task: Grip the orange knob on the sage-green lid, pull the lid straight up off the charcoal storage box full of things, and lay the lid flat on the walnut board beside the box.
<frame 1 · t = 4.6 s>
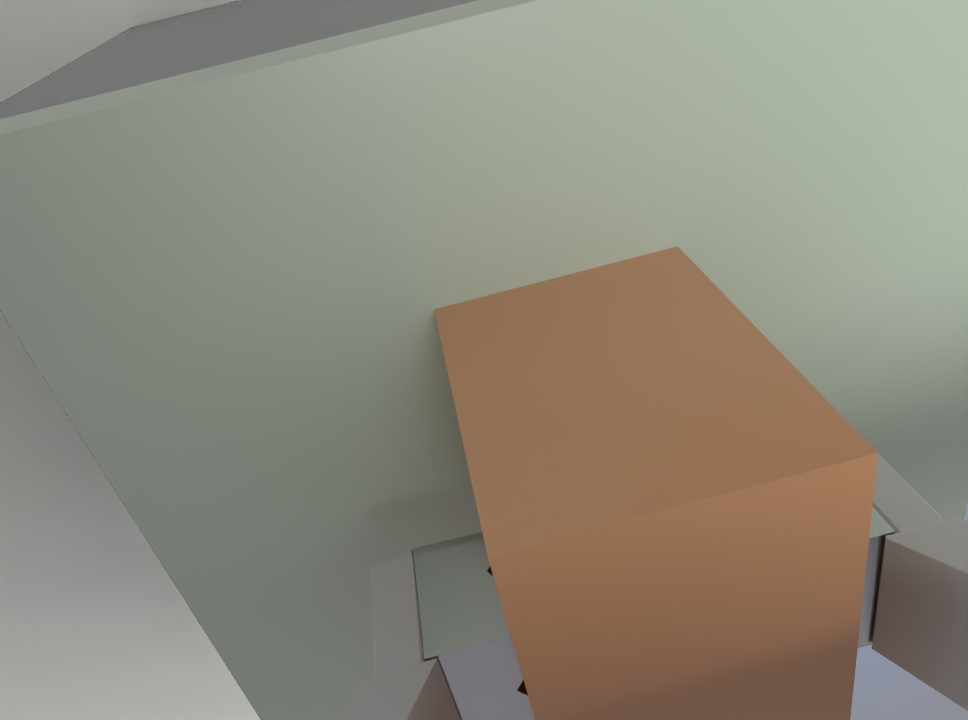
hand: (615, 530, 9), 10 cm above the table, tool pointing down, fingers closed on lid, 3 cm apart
storage box: (487, 230, 18), on the table
lid: (554, 388, 12), point 7 cm above the table, touching gripper, storage box
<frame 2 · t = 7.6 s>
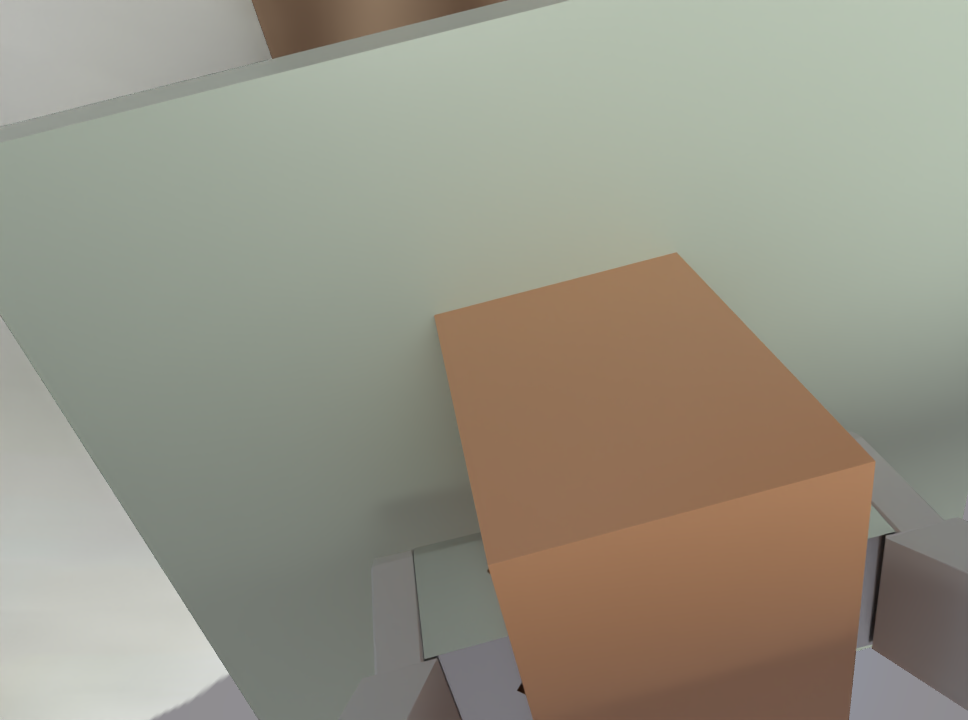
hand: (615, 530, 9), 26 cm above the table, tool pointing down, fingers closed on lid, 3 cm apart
lid: (554, 392, 12), point 23 cm above the table, touching gripper
when the fingers open (6 cm above the table, at t = 10.8 s): lid drops 1 cm, resting on walnut board.
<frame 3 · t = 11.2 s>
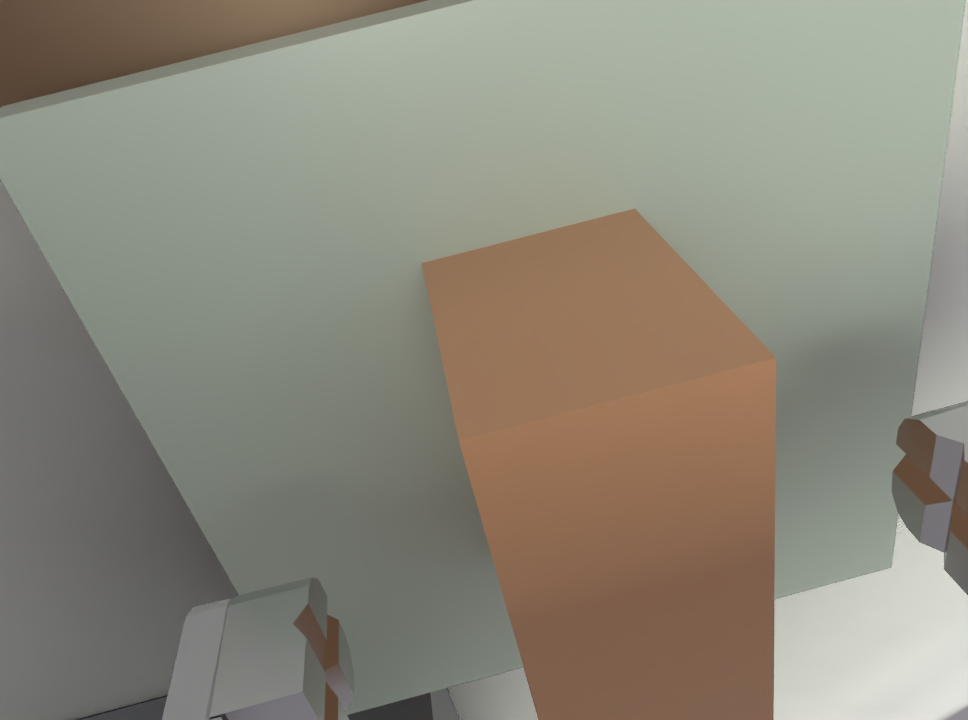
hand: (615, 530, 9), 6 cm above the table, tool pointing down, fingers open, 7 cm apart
lid: (534, 346, 14), point 1 cm above the table, touching walnut board
walnut board: (523, 311, 14), on the table
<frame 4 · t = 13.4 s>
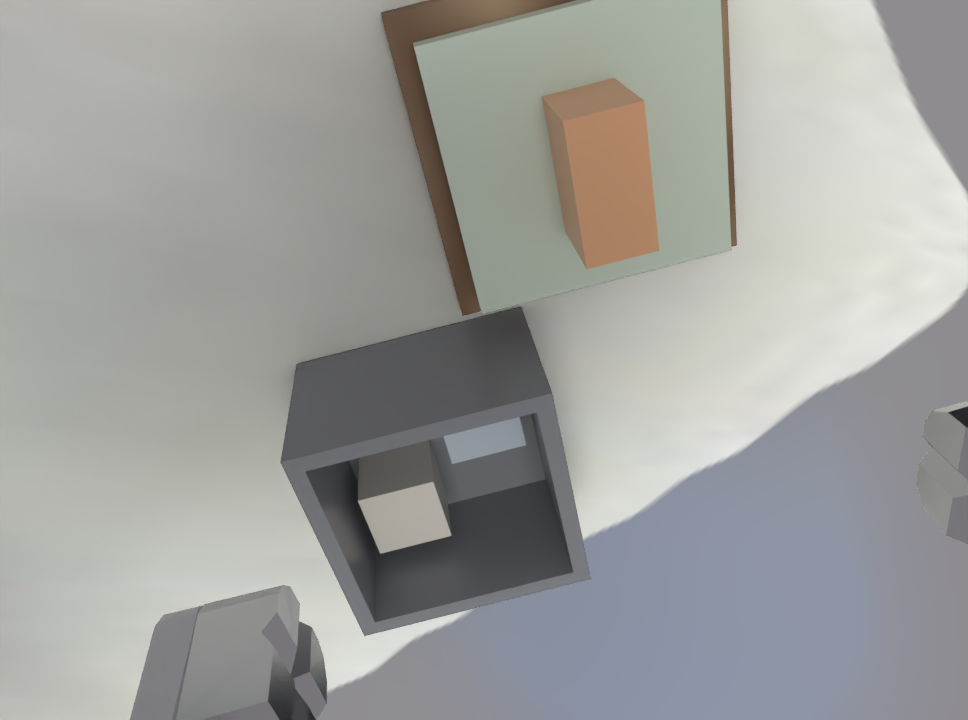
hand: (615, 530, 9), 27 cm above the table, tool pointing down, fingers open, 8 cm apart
storage box: (437, 424, 42), on the table
lid: (577, 145, 34), point 1 cm above the table, touching walnut board
walnut board: (572, 136, 35), on the table
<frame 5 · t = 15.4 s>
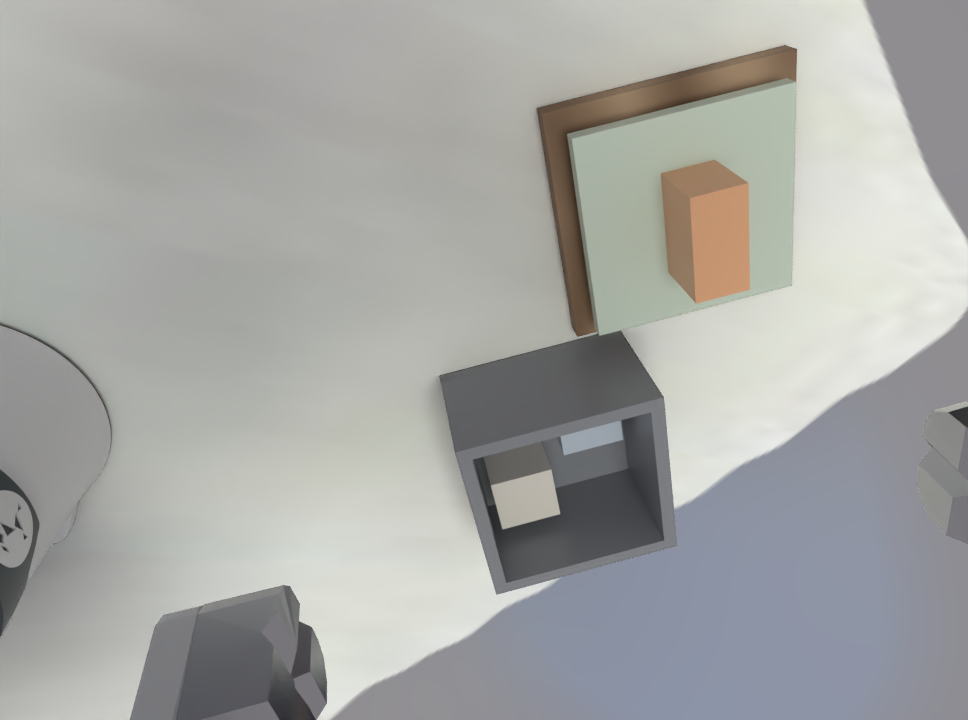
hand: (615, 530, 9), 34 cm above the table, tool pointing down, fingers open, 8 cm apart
storage box: (544, 424, 52), on the table
lid: (677, 205, 43), point 1 cm above the table, touching walnut board
walnut board: (670, 197, 44), on the table
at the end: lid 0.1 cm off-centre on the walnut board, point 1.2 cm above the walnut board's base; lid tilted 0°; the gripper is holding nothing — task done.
